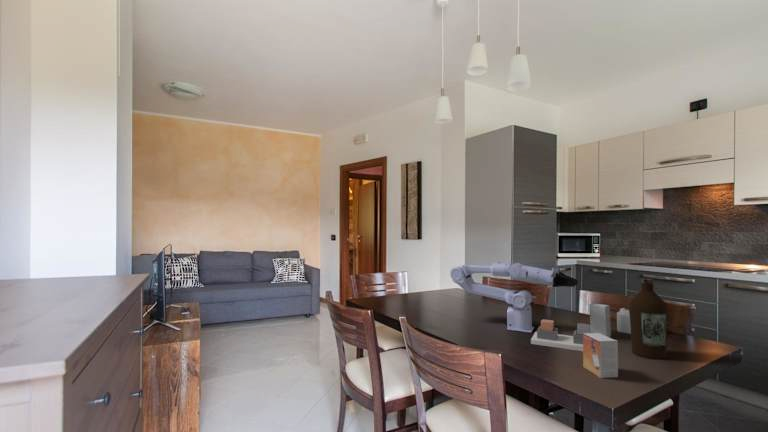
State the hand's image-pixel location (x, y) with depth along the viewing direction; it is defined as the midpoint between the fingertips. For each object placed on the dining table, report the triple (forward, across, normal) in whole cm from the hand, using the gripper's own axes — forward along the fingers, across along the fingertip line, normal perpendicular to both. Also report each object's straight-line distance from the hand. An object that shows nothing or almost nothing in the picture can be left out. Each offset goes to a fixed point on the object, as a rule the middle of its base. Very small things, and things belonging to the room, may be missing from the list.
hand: (576, 283), depth 144 cm
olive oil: (+25, -7, +18) cm, 32 cm away
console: (+1, -9, +22) cm, 23 cm away
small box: (+13, -32, +22) cm, 41 cm away
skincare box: (+10, +8, +19) cm, 23 cm away
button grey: (+6, -9, +17) cm, 20 cm away
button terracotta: (-6, -10, +19) cm, 22 cm away
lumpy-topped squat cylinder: (+21, +24, +16) cm, 36 cm away
